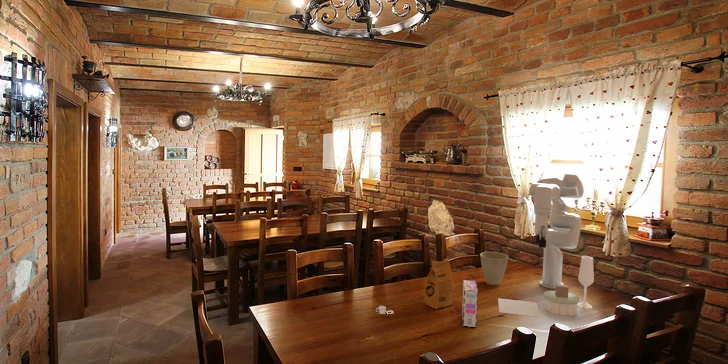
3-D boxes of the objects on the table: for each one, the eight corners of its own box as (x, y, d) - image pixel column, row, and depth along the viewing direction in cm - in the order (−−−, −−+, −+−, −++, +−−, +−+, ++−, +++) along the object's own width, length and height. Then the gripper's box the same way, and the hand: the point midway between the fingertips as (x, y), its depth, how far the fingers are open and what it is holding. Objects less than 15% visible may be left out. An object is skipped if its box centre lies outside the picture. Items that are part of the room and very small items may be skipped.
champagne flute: (594, 309, 201) (597, 259, 199) (578, 307, 203) (581, 258, 200) (589, 303, 208) (592, 255, 205) (574, 302, 209) (577, 255, 207)
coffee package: (421, 303, 206) (422, 259, 204) (441, 299, 212) (442, 256, 210) (434, 310, 197) (436, 264, 195) (454, 305, 204) (456, 261, 201)
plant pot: (475, 284, 235) (476, 256, 233) (484, 277, 247) (485, 250, 246) (502, 289, 226) (503, 260, 225) (510, 282, 239) (511, 254, 237)
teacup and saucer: (394, 313, 194) (395, 305, 194) (390, 320, 187) (390, 311, 186) (376, 311, 197) (376, 302, 197) (371, 317, 190) (371, 309, 189)
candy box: (476, 328, 179) (478, 290, 177) (462, 327, 180) (463, 289, 178) (474, 315, 192) (476, 280, 191) (461, 314, 193) (462, 279, 192)
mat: (498, 299, 212) (498, 298, 212) (536, 303, 207) (536, 302, 207) (499, 313, 195) (499, 312, 195) (541, 318, 190) (541, 316, 190)
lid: (542, 291, 208) (542, 279, 207) (575, 294, 203) (576, 282, 203) (546, 302, 193) (547, 289, 193) (582, 306, 189) (583, 293, 189)
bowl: (544, 304, 207) (544, 292, 206) (573, 307, 203) (574, 295, 203) (547, 314, 194) (548, 301, 194) (578, 317, 191) (579, 305, 190)
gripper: (532, 207, 217) (530, 240, 218) (536, 213, 200) (534, 248, 202) (548, 208, 215) (546, 241, 216) (553, 214, 198) (551, 250, 200)
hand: (540, 245), depth 209 cm, fingers open, 9 cm apart
